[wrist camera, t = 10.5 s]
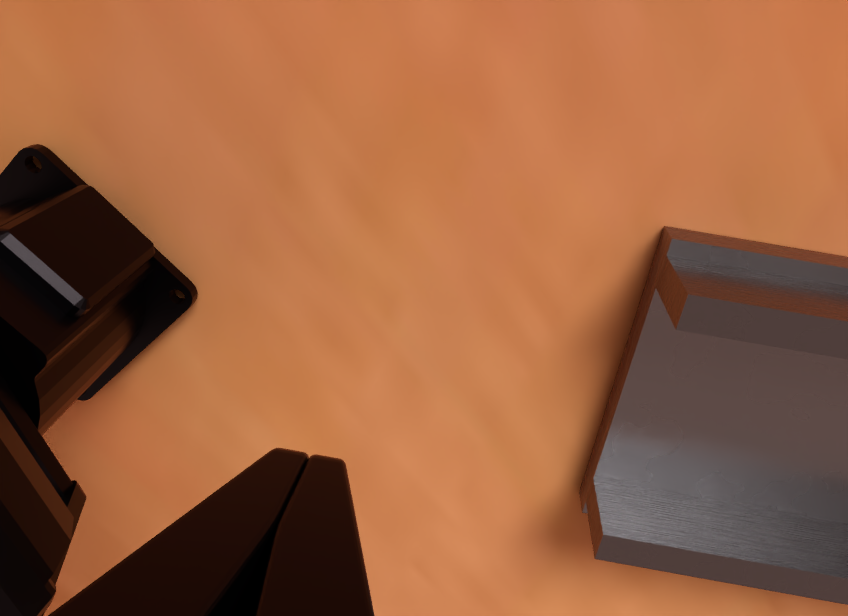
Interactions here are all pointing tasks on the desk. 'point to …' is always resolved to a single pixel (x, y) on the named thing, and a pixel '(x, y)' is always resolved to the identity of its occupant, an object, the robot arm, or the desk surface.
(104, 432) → the desk surface
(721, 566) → the steel chute
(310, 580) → the robot arm
